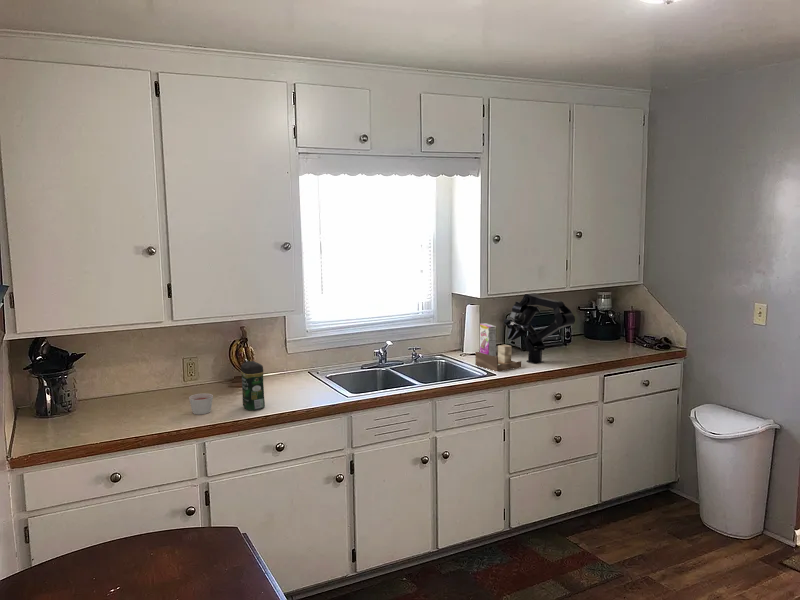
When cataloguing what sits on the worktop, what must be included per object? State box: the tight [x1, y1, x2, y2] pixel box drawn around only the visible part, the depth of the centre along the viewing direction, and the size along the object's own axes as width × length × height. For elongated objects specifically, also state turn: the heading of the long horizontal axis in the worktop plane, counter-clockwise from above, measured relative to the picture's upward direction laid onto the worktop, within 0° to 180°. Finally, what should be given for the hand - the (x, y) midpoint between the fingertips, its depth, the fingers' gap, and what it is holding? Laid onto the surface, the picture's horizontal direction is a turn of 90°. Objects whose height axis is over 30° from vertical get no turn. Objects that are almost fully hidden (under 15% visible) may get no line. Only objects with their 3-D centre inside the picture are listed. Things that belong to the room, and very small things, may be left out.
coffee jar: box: [240, 360, 266, 411], centre depth 261 cm, size 10×8×19 cm
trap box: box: [475, 351, 522, 372], centre depth 328 cm, size 16×16×7 cm
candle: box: [188, 392, 214, 415], centre depth 256 cm, size 9×9×6 cm
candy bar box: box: [479, 322, 497, 356], centre depth 355 cm, size 11×5×16 cm, turn 22°
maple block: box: [497, 344, 512, 363], centre depth 330 cm, size 4×5×8 cm
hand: (509, 339), depth 333 cm, fingers open, 2 cm apart
